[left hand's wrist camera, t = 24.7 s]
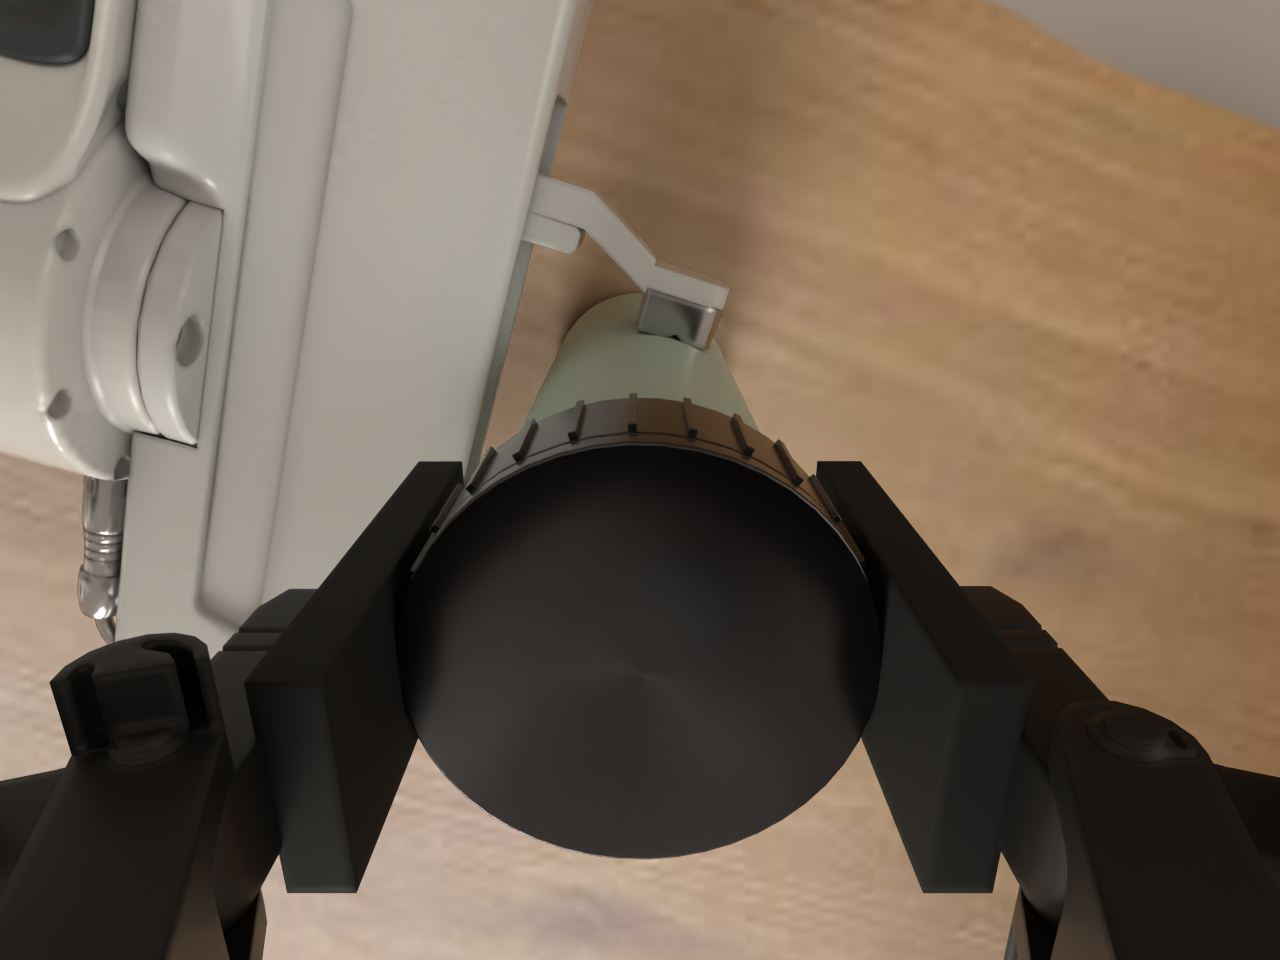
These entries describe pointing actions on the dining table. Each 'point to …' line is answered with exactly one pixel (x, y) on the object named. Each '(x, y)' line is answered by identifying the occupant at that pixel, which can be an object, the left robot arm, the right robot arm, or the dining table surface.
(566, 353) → the jar
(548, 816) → the lid
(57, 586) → the dining table surface
